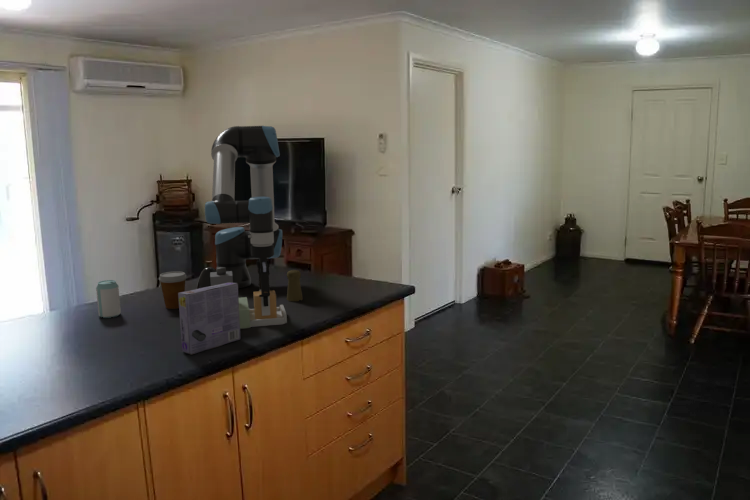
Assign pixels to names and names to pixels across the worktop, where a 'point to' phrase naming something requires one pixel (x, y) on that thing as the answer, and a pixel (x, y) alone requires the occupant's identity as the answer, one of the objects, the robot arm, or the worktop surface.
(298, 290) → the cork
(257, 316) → the cardboard box
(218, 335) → the cake pan box
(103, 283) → the can
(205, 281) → the pump dispenser
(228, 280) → the pale green boxy piece
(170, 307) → the disposable coffee cup
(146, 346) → the worktop surface
